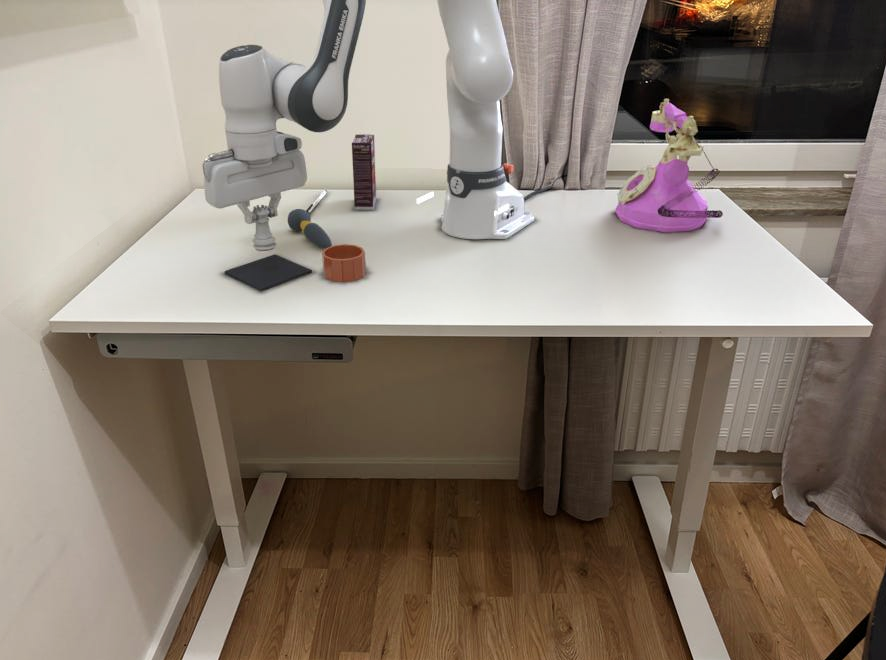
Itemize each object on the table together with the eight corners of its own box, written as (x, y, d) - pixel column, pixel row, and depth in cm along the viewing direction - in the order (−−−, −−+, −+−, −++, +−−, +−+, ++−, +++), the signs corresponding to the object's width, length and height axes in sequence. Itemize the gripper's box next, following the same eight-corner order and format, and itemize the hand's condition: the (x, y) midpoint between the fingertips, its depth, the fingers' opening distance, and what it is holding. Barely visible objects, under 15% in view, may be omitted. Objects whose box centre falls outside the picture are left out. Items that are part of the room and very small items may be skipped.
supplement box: (374, 210, 177) (371, 143, 169) (354, 210, 177) (350, 143, 169) (377, 199, 184) (374, 133, 176) (357, 199, 184) (354, 133, 176)
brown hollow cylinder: (346, 262, 149) (345, 241, 147) (374, 273, 145) (373, 251, 142) (315, 274, 144) (313, 252, 142) (342, 285, 140) (341, 263, 137)
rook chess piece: (248, 250, 141) (242, 209, 137) (261, 242, 145) (256, 202, 141) (268, 253, 140) (263, 212, 136) (281, 245, 143) (276, 204, 139)
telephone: (606, 199, 184) (618, 93, 171) (698, 200, 183) (717, 94, 170) (634, 254, 153) (652, 130, 140) (746, 255, 152) (774, 130, 140)
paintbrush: (346, 248, 156) (344, 225, 153) (325, 254, 153) (323, 230, 151) (299, 223, 170) (297, 201, 167) (280, 227, 167) (277, 206, 164)
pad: (275, 256, 152) (274, 254, 152) (312, 272, 145) (312, 269, 145) (224, 273, 145) (224, 271, 144) (261, 291, 137) (260, 288, 137)
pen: (303, 216, 173) (303, 212, 172) (324, 191, 189) (324, 187, 189) (307, 217, 173) (307, 212, 172) (328, 192, 189) (327, 187, 188)
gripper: (211, 159, 124) (223, 238, 131) (308, 137, 137) (314, 210, 144) (191, 152, 128) (203, 229, 135) (287, 132, 141) (294, 203, 148)
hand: (261, 219), depth 139 cm, fingers closed on rook chess piece, 3 cm apart
